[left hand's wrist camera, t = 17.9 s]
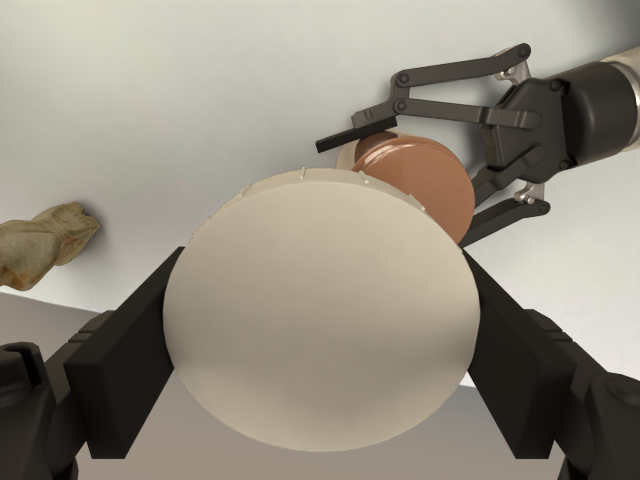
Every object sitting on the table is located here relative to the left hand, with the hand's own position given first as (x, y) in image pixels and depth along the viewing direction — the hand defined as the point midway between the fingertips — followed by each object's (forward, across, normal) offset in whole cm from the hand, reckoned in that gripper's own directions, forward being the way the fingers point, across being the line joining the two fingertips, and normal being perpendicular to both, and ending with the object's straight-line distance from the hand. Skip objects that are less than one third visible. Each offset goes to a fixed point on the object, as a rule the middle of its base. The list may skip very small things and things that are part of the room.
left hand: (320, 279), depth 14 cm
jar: (+24, +6, 0) cm, 25 cm away
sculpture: (+24, -26, -6) cm, 37 cm away
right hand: (+18, +1, -1) cm, 18 cm away
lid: (-3, 0, 0) cm, 3 cm away
